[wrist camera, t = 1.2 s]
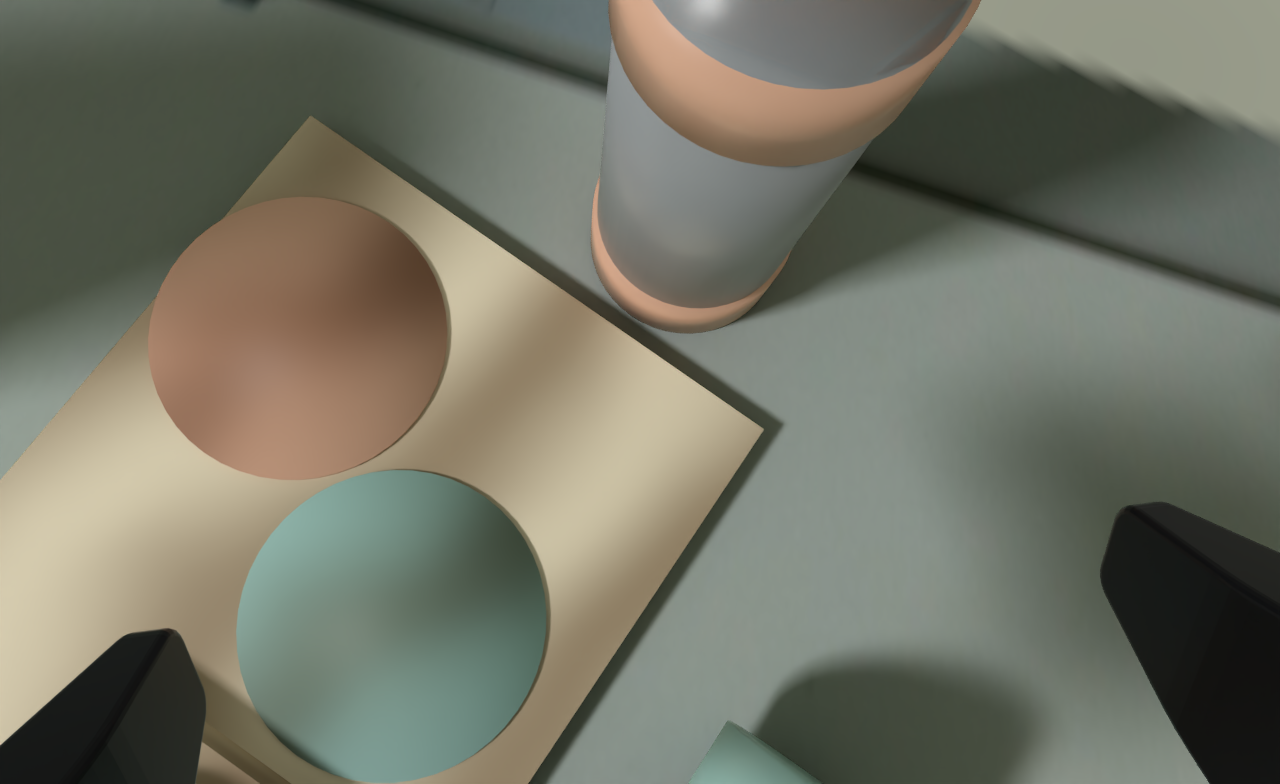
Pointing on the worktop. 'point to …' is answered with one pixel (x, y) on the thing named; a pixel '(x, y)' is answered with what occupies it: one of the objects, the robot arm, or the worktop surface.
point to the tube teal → (747, 762)
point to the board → (358, 490)
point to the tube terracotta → (741, 137)
